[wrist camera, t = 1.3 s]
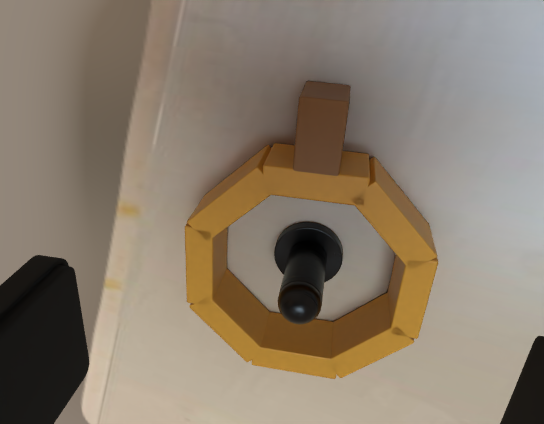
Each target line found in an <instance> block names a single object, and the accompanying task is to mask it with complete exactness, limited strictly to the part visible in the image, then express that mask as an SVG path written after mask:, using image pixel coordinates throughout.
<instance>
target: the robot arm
mask: <svg viewBox="0 0 544 424" xmlns="http://www.w3.org/2000/svg"><path fill="white" fill-rule="evenodd" d="M88 367H89V356H88V350H87V343H86V337H85V331H84V325H83V319H82V313H81V307H80V300H79V294H78V288H77V282H76V275H75V271H74V269H73V268H72V267H69V266H68V263H67V261H66V260H64V259H62V258H55V257H48V256H41V255H37V256H34V257H33V258H31V259H30V260H29V261H28V262H27V263H25V264H24V265H23V266H22V267H21V268H20V269H19V270H18V271H16V272H15V273H14V274H13V275H12V276H11V277H9V278H8V279H7V280H6V281H5V282H4V283H3V284H1V285H0V424H54V422H55V421H56V419H57V418H58V416H59V415H60V413H61V412H62V410H63V409H64V408H65V406H66V405H67V403H68V402H69V400H70V399H71V397H72V396H73V394H74V393H75V391H76V390H77V388H78V387H79V385H80V384H81V382H82V381H83V379H84V378H85V376H86V374H87V371H88ZM500 424H544V336H538V337H537V338H536V339H535V341H534V343H533V345H532V348H531V350H530V352H529V355H528V357H527V360H526V362H525V365H524V367H523V369H522V372H521V374H520V377H519V379H518V382H517V384H516V387H515V389H514V391H513V394H512V396H511V399H510V401H509V404H508V406H507V408H506V411H505V413H504V416H503V418H502V421H501V423H500Z"/></svg>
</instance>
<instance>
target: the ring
mask: <svg viewBox="0 0 544 424" xmlns="http://www.w3.org/2000/svg"><path fill="white" fill-rule="evenodd" d="M350 88H351V87H350V85H343V84H333V83H323V82H313V81H307V82H306V84H305V86H304V88H303V90H302V92H301V95H300V97H299V103H298V114H297V125H296V137H295V145H287V144H278V143H274V144H273V147H272V148H271V147H270V145H267V146H266V147H264V148H263V149H262V150H261V151H259V152H258V153H257V154H256V155H254V156H253V157H252V158H251V159H249V160H248V161H247V162H246V163H244V164H243V165H242V166H241V167H239V168H238V169H237V170H236V171H234V172H233V173H232V174H231V175H229V176H228V177H227V178H226V179H224V180H223V181H222V182H221V183H219V184H218V185H217V186H216V187H214V188H213V189H212V190H211V191H209V192H208V193H207V194H206V195H205V196H204V197H203V199H202V200H201V202H200V203H199V205H198V206H197V208H196V209H195V210H194V212H193V213H192V215H191V216H190V218H189V219H188V221H187V224H186V226H185V250H186V285H187V302H188V303H191V304H190V306H189V307H190V308H191V309H192V310H193V311H194V312H195V313H196V314H197V315H198V316H199V317H200V318H201V319H202V320H203V321H204V322H205V323H206V324H207V325H209V326H210V327H211V328H212V329H213V330H214V331H215V332H216V333H217V334H218V335H219V336H220V337H221V338H222V339H223V340H224V341H225V342H226V343H227V344H228V345H229V346H230V347H232V348H233V349H234V350H235V351H236V352H237V353H238V354H239V355H240V356H241V357H242V358H243V359H244V360H245V361H246V362H249V361H251V360H252V365H256V366H262V367H267V368H273V369H279V370H285V371H291V372H297V373H303V374H308V375H314V376H320V377H326V378H332V379H335V378H336V374H337V375H338V376H339V377H340V378H342V377H344V376H346V375H348V374H351V373H353V372H355V371H357V370H359V369H361V368H363V367H365V366H367V365H369V364H371V363H373V362H375V361H377V360H379V359H382V358H384V357H386V356H388V355H390V354H392V353H394V352H396V351H398V350H400V349H402V348H404V347H406V346H408V345H410V344H413V343H414V338H415V339H417V338H418V336H419V332H420V328H421V324H422V321H423V317H424V313H425V310H426V306H427V302H428V299H429V295H430V291H431V288H432V284H433V280H434V276H435V273H436V269H437V265H438V259H437V253H436V249H435V245H434V242H433V238H432V234H431V230H430V226H429V224H428V223H427V221H426V220H425V219H424V218H423V216H422V215H421V214H420V213H419V211H418V210H417V209H416V208H415V206H414V205H413V204H412V203H411V201H410V200H409V199H408V198H407V196H406V195H405V194H404V193H403V191H402V190H401V189H400V188H399V187H398V185H397V184H396V183H395V182H394V180H393V179H392V178H391V177H390V175H389V174H388V173H387V172H386V170H385V169H384V168H383V167H382V165H381V164H380V163H379V162H378V160H377V159H376V158H375V157H372V158H371V159H370V160H369V154H365V153H356V152H348V151H343V144H344V137H345V130H346V123H347V115H348V108H349V100H350ZM270 195H277V196H285V197H293V198H301V199H309V200H316V201H324V202H332V203H340V204H348V205H355V206H356V207H357V209H358V210H359V211H360V212H361V213H362V214H363V216H364V217H365V218H366V219H367V220H368V221H369V223H370V224H371V225H372V226H373V227H374V229H375V230H376V231H377V232H378V233H379V234H380V236H381V237H382V238H383V239H384V240H385V242H386V243H387V244H388V245H389V246H390V247H391V249H392V250H393V251H394V252H395V253H396V257H395V261H394V266H393V270H392V275H391V280H390V284H389V289H388V292H387V293H385V294H384V295H382V296H380V297H378V298H376V299H374V300H373V301H371V302H369V303H367V304H365V305H364V306H362V307H360V308H358V309H356V310H354V311H353V312H351V313H349V314H347V315H345V316H343V317H342V318H340V319H338V320H336V321H334V322H331V321H324V320H318V319H314V320H312V321H311V322H309V323H306V324H294V323H291V322H289V321H288V320H286V319H285V318H284V317H283V316H282V314H280V313H273V312H269V311H268V310H267V309H266V308H265V307H264V306H263V305H262V304H261V303H260V302H259V301H258V300H257V299H256V298H255V297H254V296H253V295H252V294H251V293H250V292H249V291H248V290H247V289H246V287H245V286H244V285H243V284H242V283H241V282H240V281H239V280H238V279H237V278H236V277H235V276H234V275H233V274H232V273H231V272H230V271H229V270H228V269H227V227H228V226H229V225H231V224H232V223H233V222H235V221H236V220H238V219H239V218H240V217H242V216H243V215H244V214H246V213H247V212H248V211H250V210H251V209H252V208H254V207H255V206H256V205H258V204H259V203H261V202H262V201H263V200H265V199H266V198H267V197H269V196H270Z"/></svg>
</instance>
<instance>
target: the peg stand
mask: <svg viewBox="0 0 544 424" xmlns="http://www.w3.org/2000/svg"><path fill="white" fill-rule="evenodd" d="M274 256H275V261H276V264H277V266H278V268H279V269H280V271H281V272H282V273H283V274H284V277H283V281H282V285H281V289H280V293H279V297H278V307H279V310H280V312H281V314H282V316H283V317H284V318H285V319H286V320H288V321H289V322H291V323H294V324H306V323H309V322H311V321H312V320H314V319H315V318H316V317H317V316H318V314H319V312H320V310H321V306H322V297H323V289H324V282H326V281H328V280H330V279H331V278H333V277H334V276H335V275H336V274H337V272H338V271H339V269H340V267H341V264H342V256H343V250H342V245H341V243H340V241H339V239H338V237H337V236H336V235H335V234H334V233H333V232H332V231H331V230H330V229H328V228H326V227H325V226H322V225H320V224H317V223H310V222H303V223H298V224H295V225H292V226H290V227H289V228H287V229H286V230H284V231H283V232H282V233H281V235H280V236H279V238H278V240H277V243H276V247H275V251H274Z"/></svg>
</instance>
